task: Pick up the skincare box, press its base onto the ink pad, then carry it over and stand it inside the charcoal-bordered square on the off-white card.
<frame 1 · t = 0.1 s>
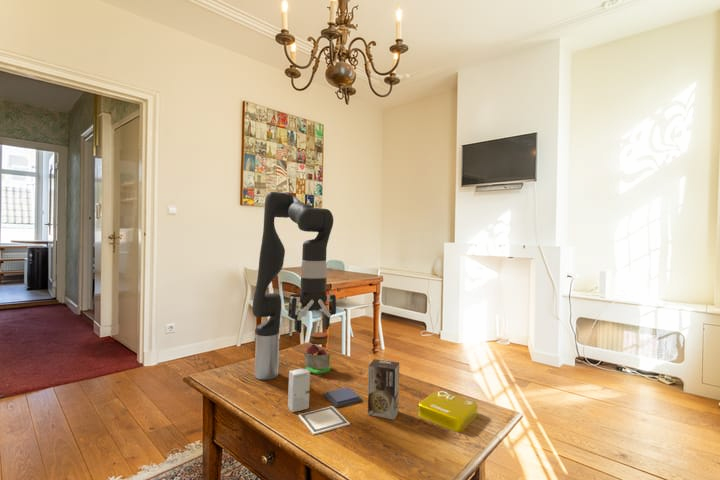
hand: (312, 330, 100), 29 cm above the table, tool pointing down, fingers open, 8 cm apart
marked card: (323, 420, 106), on the table
coffee box: (383, 413, 111), on the table
multicoloured piece: (317, 369, 147), on the table
element tile: (447, 416, 111), on the table
ink pad: (342, 398, 120), on the table
skincare box: (298, 408, 113), on the table
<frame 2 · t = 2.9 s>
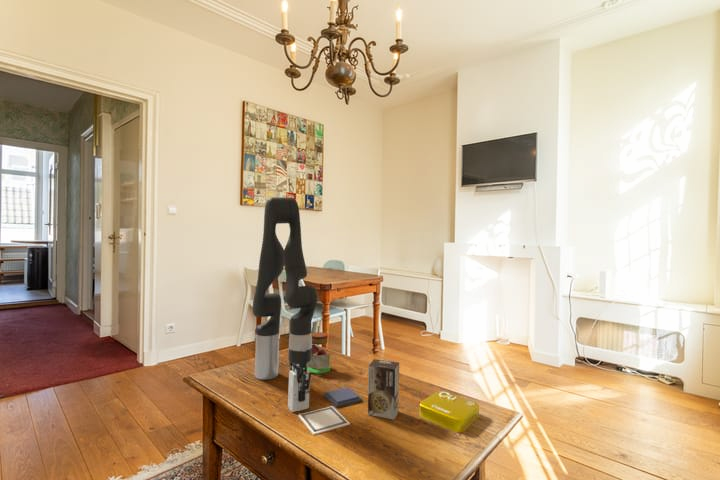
hand: (298, 397, 113), 3 cm above the table, tool pointing down, fingers closed on skincare box, 4 cm apart
skincare box: (298, 408, 113), on the table, touching gripper
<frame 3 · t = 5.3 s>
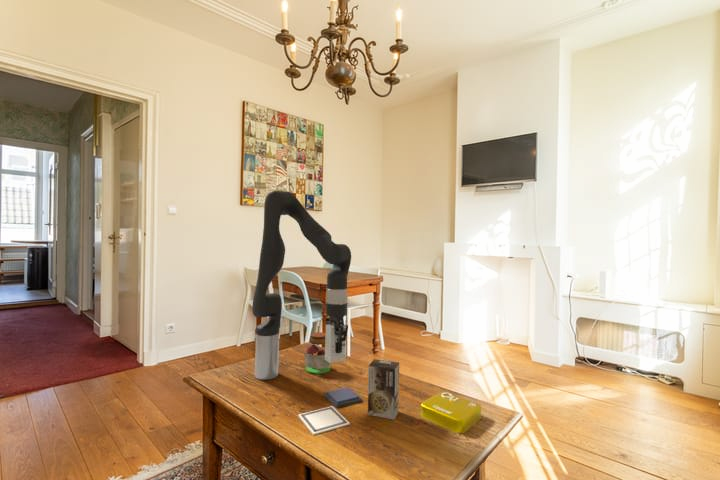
hand: (335, 350, 118), 18 cm above the table, tool pointing down, fingers closed on skincare box, 4 cm apart
skincare box: (334, 360, 118), point 14 cm above the table, touching gripper
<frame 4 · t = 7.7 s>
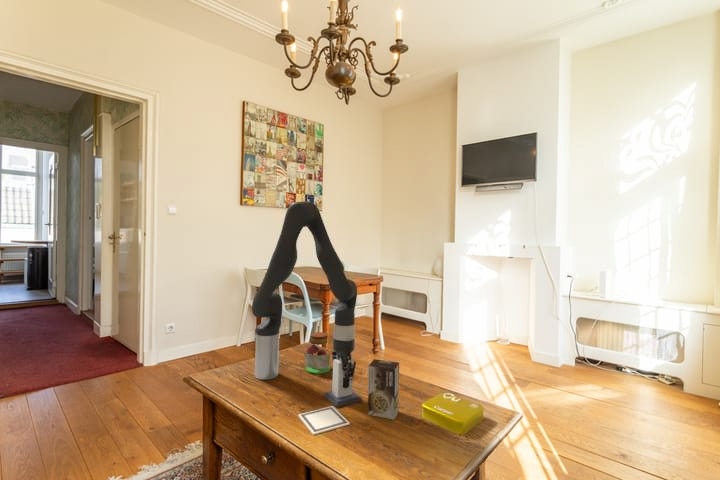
hand: (342, 384, 120), 5 cm above the table, tool pointing down, fingers closed on skincare box, 4 cm apart
skincare box: (342, 394, 120), point 1 cm above the table, touching gripper, ink pad
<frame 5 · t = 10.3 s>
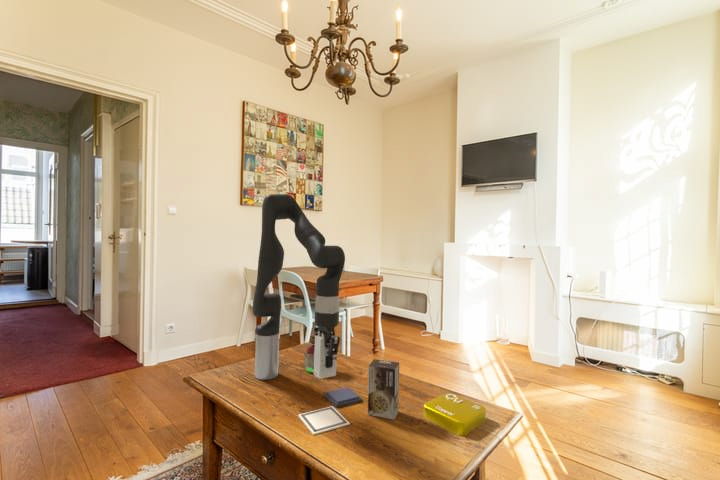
hand: (325, 364, 106), 17 cm above the table, tool pointing down, fingers closed on skincare box, 4 cm apart
skincare box: (325, 375, 106), point 14 cm above the table, touching gripper
when the fingers open (5 cm above the table, at t = 12.5 s): skincare box stays where it is, resting on marked card.
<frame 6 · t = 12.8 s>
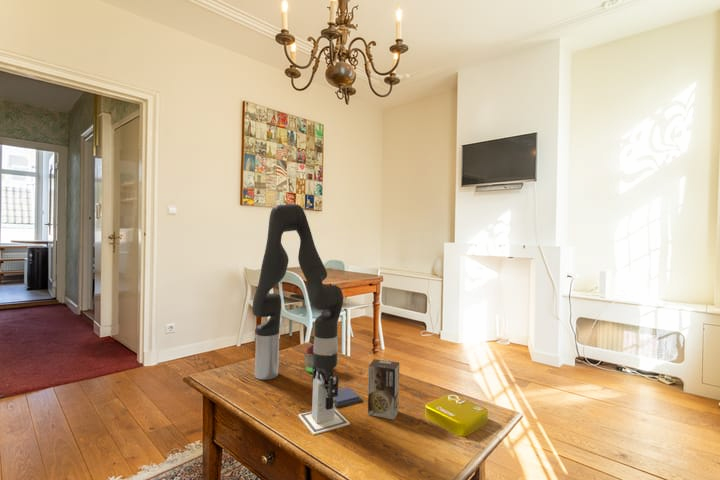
hand: (323, 403, 106), 5 cm above the table, tool pointing down, fingers open, 7 cm apart
skincare box: (323, 419, 106), resting on marked card
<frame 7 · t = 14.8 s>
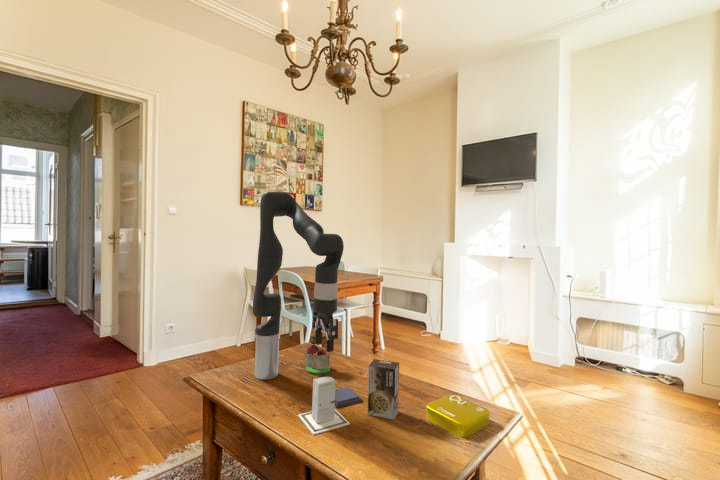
hand: (323, 347, 108), 22 cm above the table, tool pointing down, fingers open, 8 cm apart
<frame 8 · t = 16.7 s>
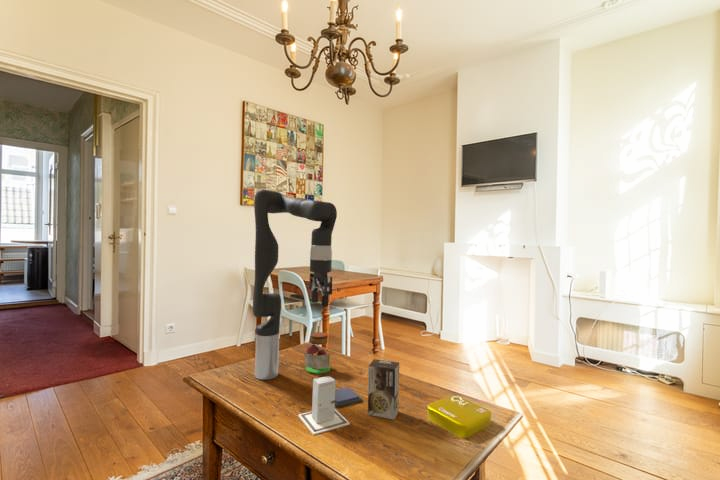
hand: (319, 304, 120), 33 cm above the table, tool pointing down, fingers open, 8 cm apart
at the end: skincare box 0.3 cm off-centre on the marked card, point 0.2 cm above the marked card's base; skincare box tilted 0°; the gripper is holding nothing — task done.
